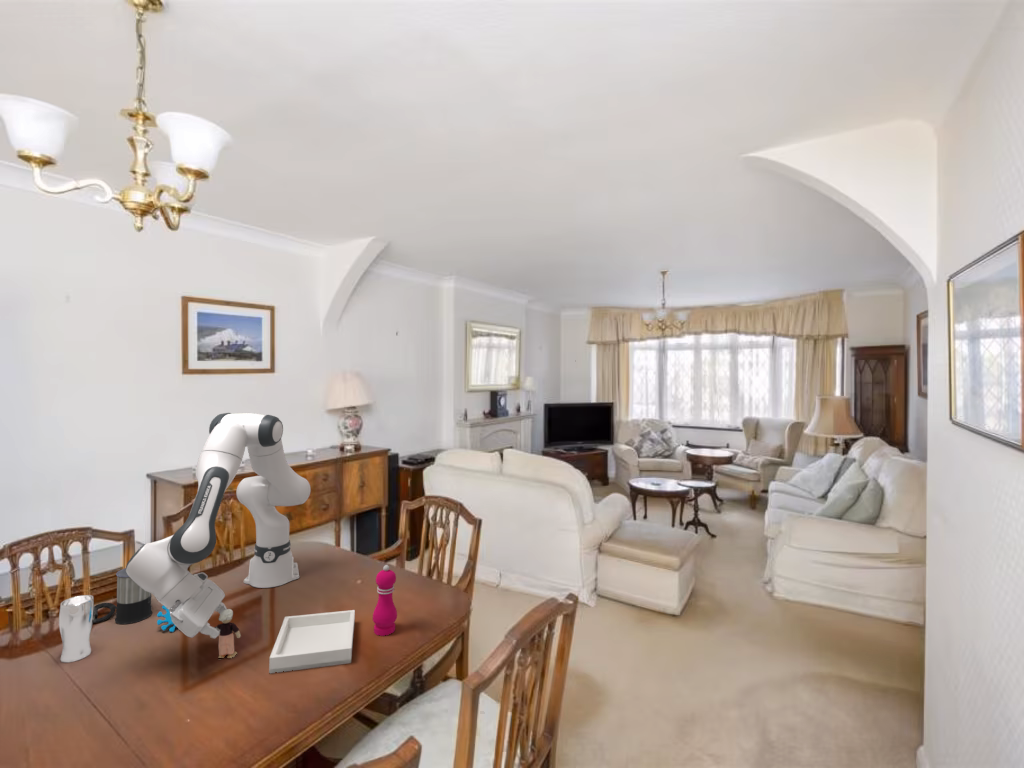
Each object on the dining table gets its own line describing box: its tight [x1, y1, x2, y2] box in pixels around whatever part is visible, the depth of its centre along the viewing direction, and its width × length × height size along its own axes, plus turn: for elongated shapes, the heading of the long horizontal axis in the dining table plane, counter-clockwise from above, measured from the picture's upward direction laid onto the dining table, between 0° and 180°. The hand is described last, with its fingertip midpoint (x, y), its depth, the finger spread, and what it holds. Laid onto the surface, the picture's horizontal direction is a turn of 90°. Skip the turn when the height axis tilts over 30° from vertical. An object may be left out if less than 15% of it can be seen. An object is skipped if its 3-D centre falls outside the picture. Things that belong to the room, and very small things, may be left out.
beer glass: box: [58, 594, 95, 663], centre depth 128 cm, size 7×7×15 cm
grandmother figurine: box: [209, 608, 242, 659], centre depth 130 cm, size 8×4×13 cm, turn 109°
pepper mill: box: [372, 564, 398, 637], centre depth 145 cm, size 7×7×20 cm
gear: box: [156, 604, 177, 633], centre depth 145 cm, size 11×6×10 cm
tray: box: [268, 609, 356, 674], centre depth 136 cm, size 22×20×4 cm
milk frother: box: [93, 567, 153, 625], centre depth 148 cm, size 14×16×15 cm
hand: (223, 626), depth 129 cm, fingers open, 8 cm apart
